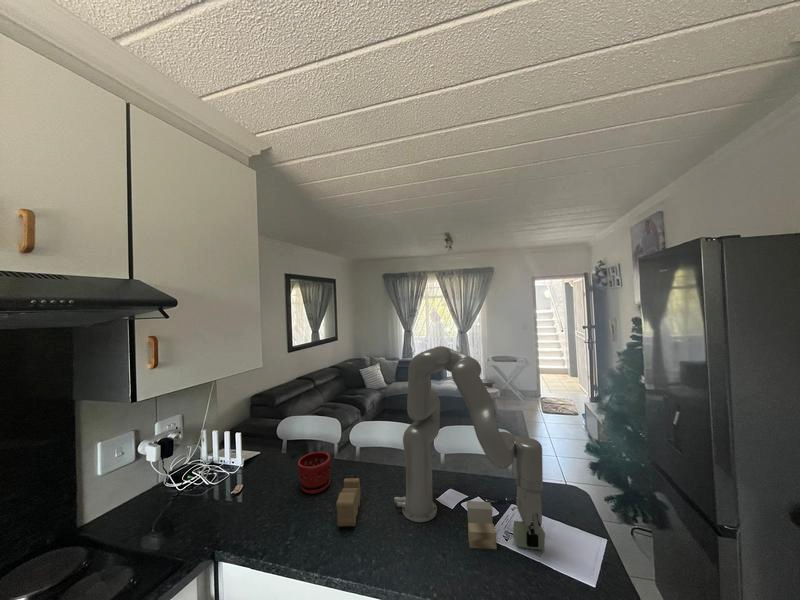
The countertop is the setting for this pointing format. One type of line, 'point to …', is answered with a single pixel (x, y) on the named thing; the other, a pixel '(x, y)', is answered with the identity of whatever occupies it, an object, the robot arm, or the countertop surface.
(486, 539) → the beech brick
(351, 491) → the toy train
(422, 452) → the robot arm
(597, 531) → the countertop surface
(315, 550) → the countertop surface
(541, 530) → the sage brick
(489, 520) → the offwhite brick
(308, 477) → the plant pot
